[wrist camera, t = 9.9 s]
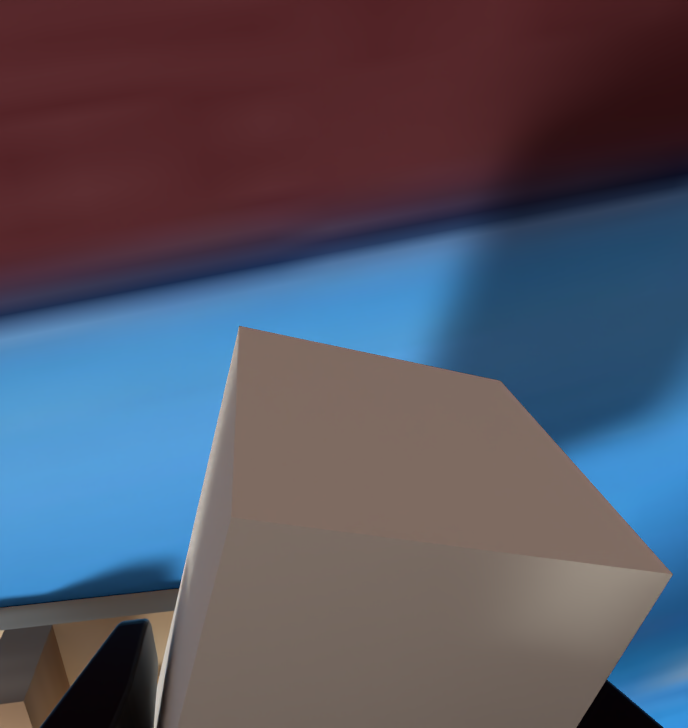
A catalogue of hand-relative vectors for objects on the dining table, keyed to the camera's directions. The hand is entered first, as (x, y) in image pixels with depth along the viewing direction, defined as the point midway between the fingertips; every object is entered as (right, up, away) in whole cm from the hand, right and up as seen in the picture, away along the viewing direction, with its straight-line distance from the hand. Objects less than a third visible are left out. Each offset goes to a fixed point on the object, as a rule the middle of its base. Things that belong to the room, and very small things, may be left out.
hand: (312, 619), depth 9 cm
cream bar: (0, 0, +1) cm, 1 cm away
